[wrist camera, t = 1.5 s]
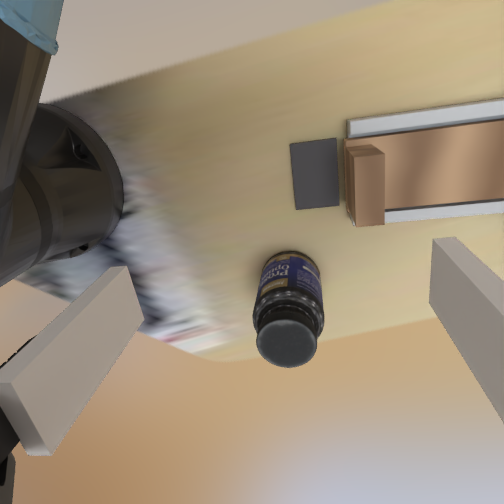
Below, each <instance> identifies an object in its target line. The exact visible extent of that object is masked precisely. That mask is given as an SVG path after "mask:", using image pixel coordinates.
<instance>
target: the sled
mask: <svg viewBox="0 0 504 504" xmlns="http://www.w3.org/2000/svg"><path fill="white" fill-rule="evenodd" d="M343 141H344V167H345V194H346V209H347V211H348V213H349V212H350V214H351V216H352V218H353V221H354V223H355V226H356V227H362V226H374V225H385V209H392V208H402V207H413V206H423V205H434V204H444V203H455V202H466V201H476V200H487V199H497V198H504V118H500V119H492V120H484V121H477V122H469V123H461V124H454V125H446V126H438V127H431V128H423V129H416V130H408V131H400V132H393V133H385V134H377V135H370V136H362V137H354V138H347V139H343Z"/></svg>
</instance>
